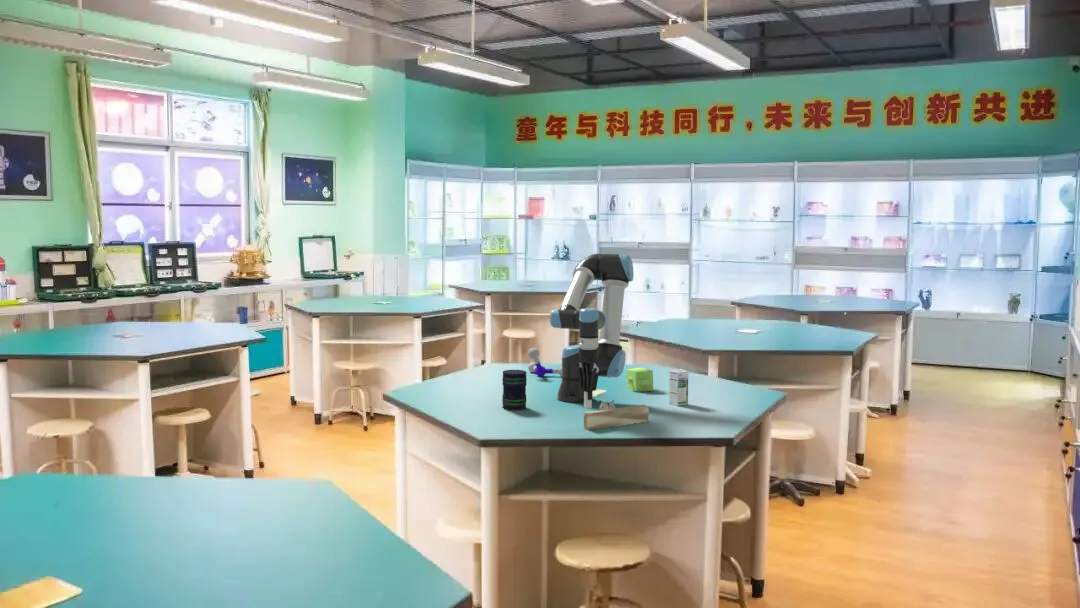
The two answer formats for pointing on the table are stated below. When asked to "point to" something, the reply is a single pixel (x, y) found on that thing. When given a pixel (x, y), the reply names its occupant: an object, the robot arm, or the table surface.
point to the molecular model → (536, 366)
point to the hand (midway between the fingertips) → (587, 407)
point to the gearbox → (640, 379)
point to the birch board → (615, 417)
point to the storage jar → (514, 389)
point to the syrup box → (678, 387)
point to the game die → (606, 405)
